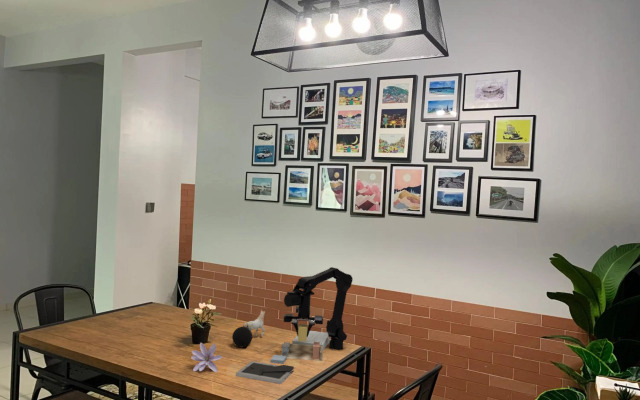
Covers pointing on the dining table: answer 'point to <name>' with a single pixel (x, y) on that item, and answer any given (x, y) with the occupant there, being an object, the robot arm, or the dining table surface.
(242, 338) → the decorative ball
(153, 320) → the dining table surface
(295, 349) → the shelf tray
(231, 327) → the dining table surface
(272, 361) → the blue book lying
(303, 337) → the olive yellow block
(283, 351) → the bookend
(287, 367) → the picture frame
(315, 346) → the salmon pink box
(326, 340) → the skincare box
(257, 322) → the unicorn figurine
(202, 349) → the water lily
